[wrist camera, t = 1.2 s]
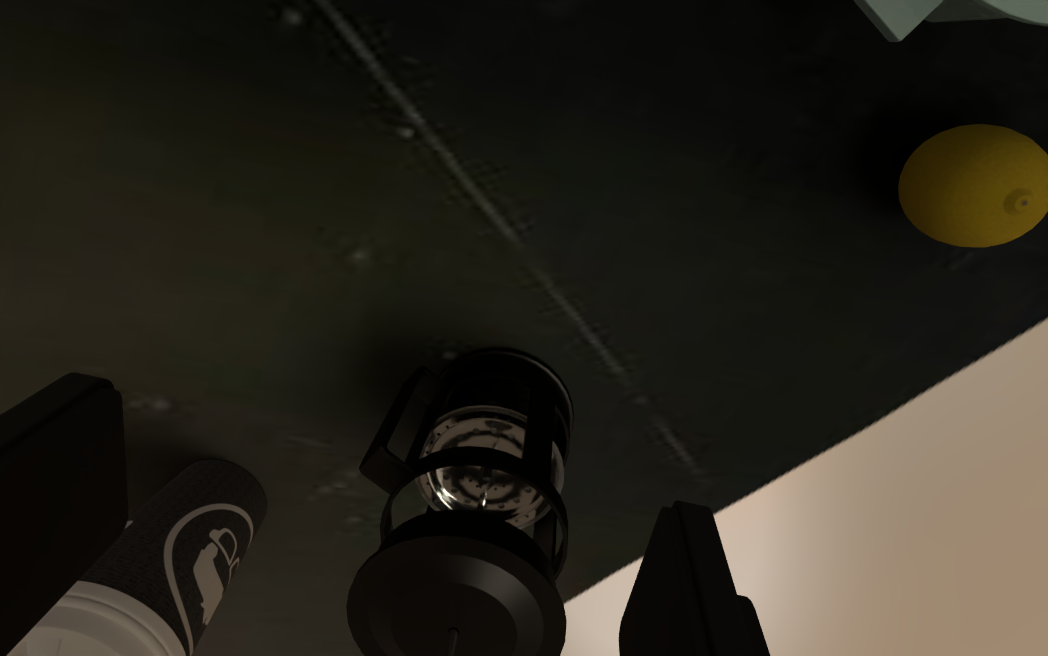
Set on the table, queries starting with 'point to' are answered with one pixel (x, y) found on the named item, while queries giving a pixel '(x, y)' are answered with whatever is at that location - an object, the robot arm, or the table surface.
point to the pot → (919, 14)
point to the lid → (1019, 10)
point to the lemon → (975, 186)
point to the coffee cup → (158, 571)
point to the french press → (470, 520)
